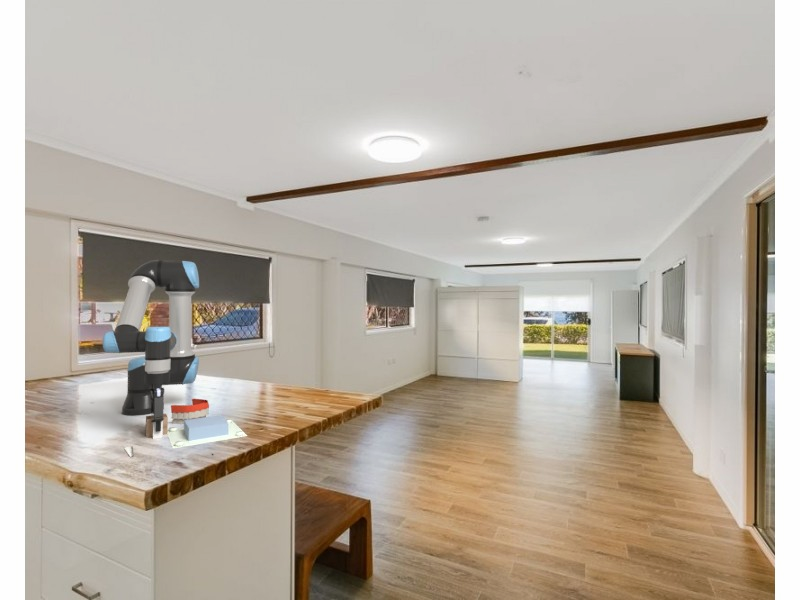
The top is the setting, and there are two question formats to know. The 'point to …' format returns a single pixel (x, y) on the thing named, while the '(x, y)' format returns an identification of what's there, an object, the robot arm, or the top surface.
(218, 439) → the build plate
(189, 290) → the robot arm
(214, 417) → the base brick
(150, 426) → the walnut block
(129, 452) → the page
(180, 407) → the toy
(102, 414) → the top surface
